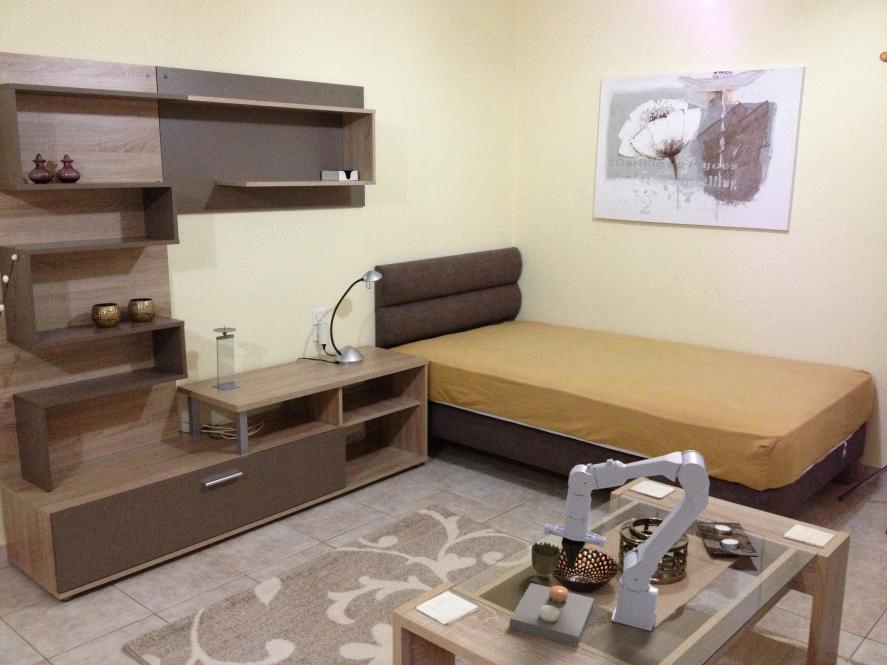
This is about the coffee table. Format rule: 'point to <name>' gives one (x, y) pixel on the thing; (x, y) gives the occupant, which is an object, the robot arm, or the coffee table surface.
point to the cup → (544, 559)
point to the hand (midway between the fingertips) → (570, 566)
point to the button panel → (562, 630)
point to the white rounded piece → (549, 613)
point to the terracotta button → (558, 594)
